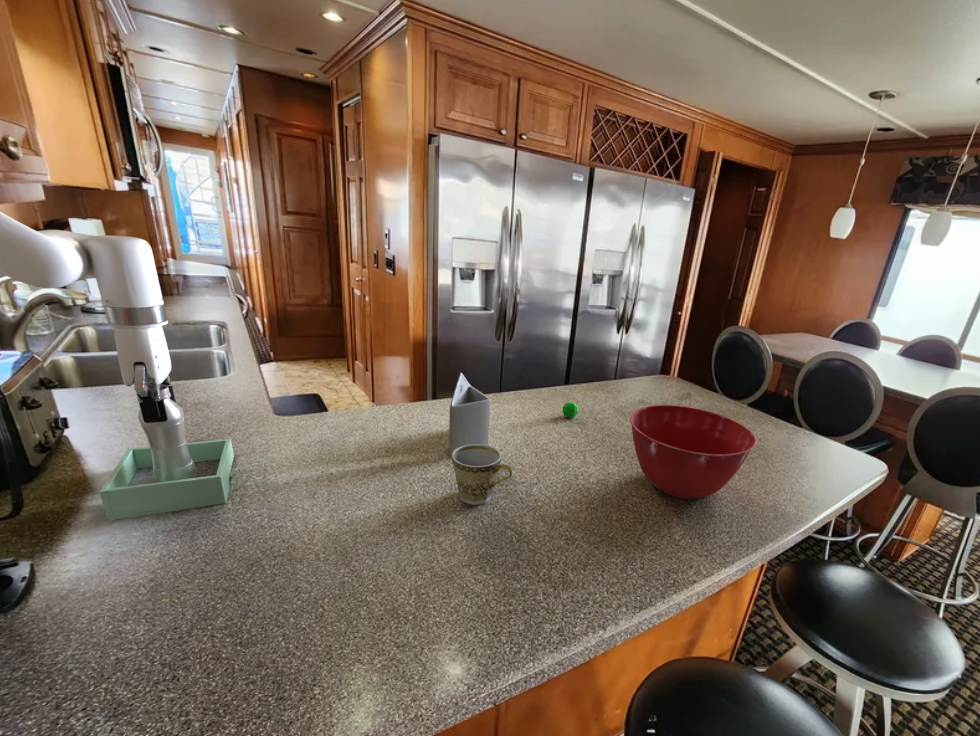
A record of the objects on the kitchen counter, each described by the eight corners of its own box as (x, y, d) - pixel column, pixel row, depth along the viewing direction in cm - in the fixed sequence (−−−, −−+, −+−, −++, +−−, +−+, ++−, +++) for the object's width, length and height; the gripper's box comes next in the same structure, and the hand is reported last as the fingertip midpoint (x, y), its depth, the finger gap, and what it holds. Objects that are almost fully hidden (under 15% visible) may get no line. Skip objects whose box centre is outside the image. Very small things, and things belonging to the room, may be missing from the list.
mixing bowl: (597, 477, 110) (606, 418, 104) (659, 446, 130) (669, 396, 124) (705, 535, 93) (723, 468, 87) (757, 489, 113) (775, 432, 107)
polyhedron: (562, 413, 146) (564, 399, 144) (578, 415, 146) (579, 401, 144) (560, 418, 142) (562, 404, 140) (576, 421, 141) (578, 406, 139)
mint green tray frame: (108, 520, 78) (99, 491, 76) (135, 474, 92) (128, 448, 90) (226, 503, 86) (220, 476, 84) (235, 462, 100) (230, 438, 97)
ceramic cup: (441, 501, 94) (442, 458, 90) (466, 479, 103) (468, 439, 99) (498, 519, 90) (501, 475, 86) (519, 495, 99) (522, 454, 95)
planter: (480, 462, 111) (483, 387, 104) (448, 458, 111) (449, 382, 104) (495, 435, 126) (498, 367, 119) (466, 431, 126) (468, 363, 119)
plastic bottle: (165, 498, 84) (140, 397, 77) (149, 484, 88) (124, 386, 80) (205, 484, 90) (185, 388, 82) (189, 472, 93) (168, 379, 85)
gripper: (122, 305, 82) (146, 399, 88) (87, 326, 68) (119, 436, 74) (176, 306, 85) (195, 396, 92) (153, 326, 71) (177, 431, 78)
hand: (161, 413), depth 83 cm, fingers closed on plastic bottle, 6 cm apart
